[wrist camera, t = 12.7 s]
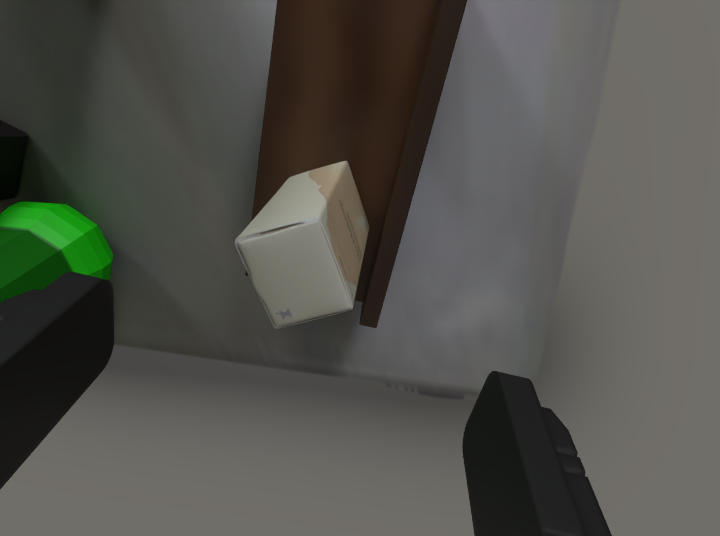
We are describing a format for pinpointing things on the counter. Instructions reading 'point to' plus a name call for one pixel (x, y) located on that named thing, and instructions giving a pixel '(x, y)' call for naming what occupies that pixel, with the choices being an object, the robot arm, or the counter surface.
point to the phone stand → (10, 159)
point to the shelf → (357, 109)
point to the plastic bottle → (48, 247)
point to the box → (307, 246)
